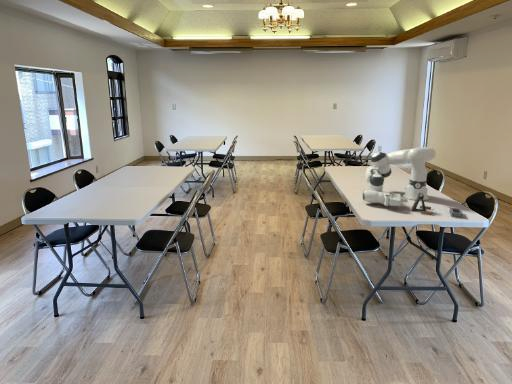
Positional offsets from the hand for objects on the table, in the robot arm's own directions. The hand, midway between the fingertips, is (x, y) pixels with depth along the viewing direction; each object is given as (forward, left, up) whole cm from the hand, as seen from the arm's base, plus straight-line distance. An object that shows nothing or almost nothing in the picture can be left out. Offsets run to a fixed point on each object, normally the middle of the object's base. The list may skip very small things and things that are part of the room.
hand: (407, 200), depth 261 cm
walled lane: (0, +12, -6) cm, 14 cm away
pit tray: (0, +31, -6) cm, 31 cm away
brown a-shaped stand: (0, +8, -6) cm, 10 cm away
